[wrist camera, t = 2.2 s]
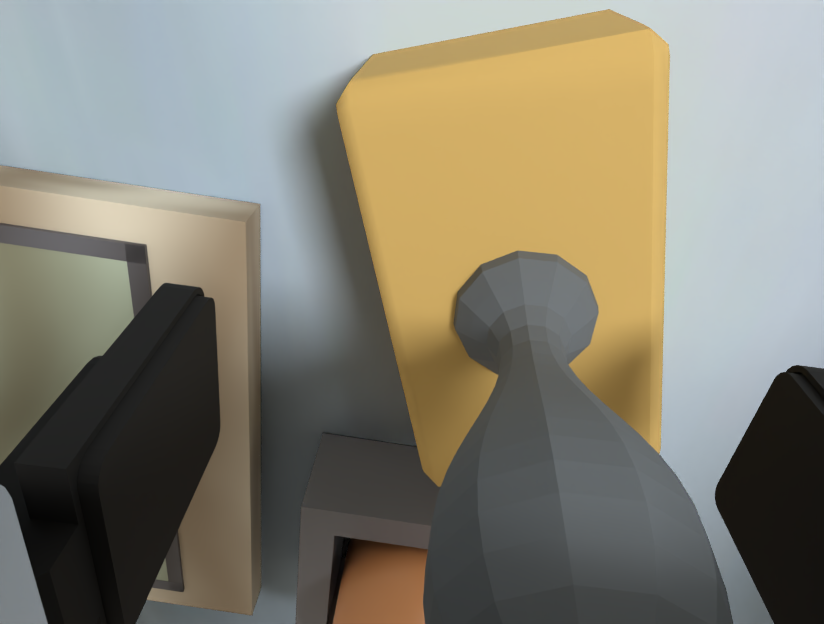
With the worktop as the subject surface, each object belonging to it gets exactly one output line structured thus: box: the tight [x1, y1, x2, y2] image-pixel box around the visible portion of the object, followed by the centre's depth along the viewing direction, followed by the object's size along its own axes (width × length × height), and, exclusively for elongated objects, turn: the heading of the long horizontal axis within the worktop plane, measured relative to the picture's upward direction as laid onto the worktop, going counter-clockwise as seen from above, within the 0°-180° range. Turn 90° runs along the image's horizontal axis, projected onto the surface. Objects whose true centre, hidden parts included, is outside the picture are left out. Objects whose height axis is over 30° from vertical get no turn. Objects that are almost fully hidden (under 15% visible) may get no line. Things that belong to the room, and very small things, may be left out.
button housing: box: [296, 433, 441, 624], centre depth 20 cm, size 7×7×3 cm
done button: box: [333, 538, 428, 624], centre depth 19 cm, size 4×4×4 cm
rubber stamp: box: [336, 9, 733, 624], centre depth 11 cm, size 10×6×12 cm, turn 11°
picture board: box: [0, 165, 261, 615], centre depth 19 cm, size 15×16×1 cm
